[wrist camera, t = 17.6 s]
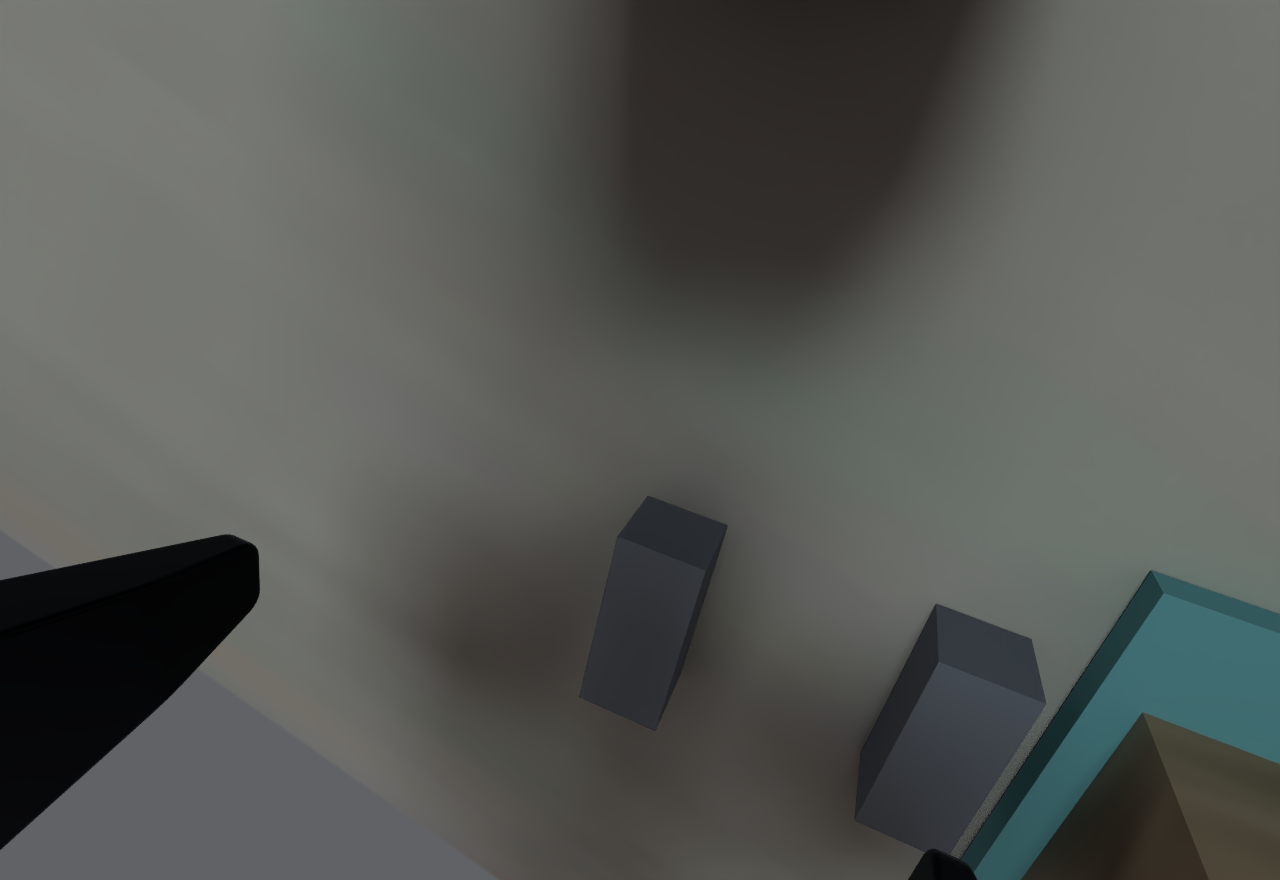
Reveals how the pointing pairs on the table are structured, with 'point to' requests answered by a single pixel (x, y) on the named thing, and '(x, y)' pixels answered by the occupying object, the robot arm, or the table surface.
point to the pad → (1142, 708)
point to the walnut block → (1170, 813)
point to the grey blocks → (910, 721)
